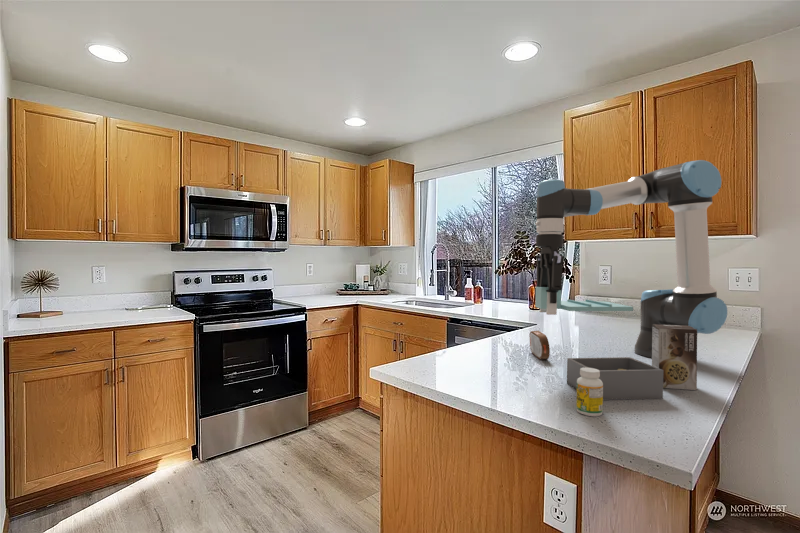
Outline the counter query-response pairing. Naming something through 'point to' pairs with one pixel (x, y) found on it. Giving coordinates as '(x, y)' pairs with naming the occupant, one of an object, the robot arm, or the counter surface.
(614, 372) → the tub
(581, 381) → the supplement bottle
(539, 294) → the lid
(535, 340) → the tin
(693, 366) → the coffee box
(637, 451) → the counter surface
